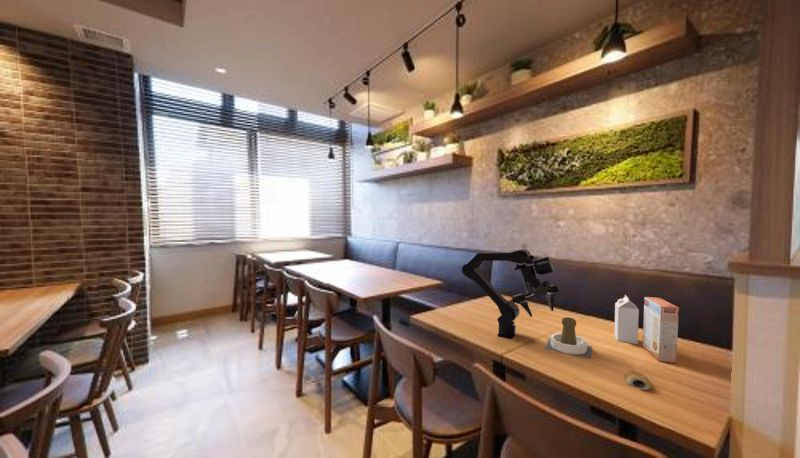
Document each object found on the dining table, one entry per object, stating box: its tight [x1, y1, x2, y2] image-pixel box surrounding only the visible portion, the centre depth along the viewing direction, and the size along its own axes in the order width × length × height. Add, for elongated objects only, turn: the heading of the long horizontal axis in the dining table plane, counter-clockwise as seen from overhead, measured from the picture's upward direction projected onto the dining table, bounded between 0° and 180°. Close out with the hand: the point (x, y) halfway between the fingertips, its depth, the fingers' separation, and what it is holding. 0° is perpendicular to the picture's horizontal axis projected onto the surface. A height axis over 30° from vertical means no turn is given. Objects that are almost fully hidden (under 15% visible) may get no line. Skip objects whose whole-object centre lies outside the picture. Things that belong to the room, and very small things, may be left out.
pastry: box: [624, 370, 652, 391], centre depth 105 cm, size 9×7×4 cm
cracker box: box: [642, 296, 680, 364], centre depth 124 cm, size 14×6×21 cm, turn 163°
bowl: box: [550, 332, 589, 356], centre depth 130 cm, size 13×13×3 cm
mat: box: [544, 337, 593, 359], centre depth 130 cm, size 16×13×1 cm
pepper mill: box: [560, 316, 577, 345], centre depth 130 cm, size 6×6×11 cm
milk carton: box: [614, 294, 640, 345], centre depth 138 cm, size 7×7×19 cm
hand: (541, 313), depth 136 cm, fingers open, 9 cm apart
